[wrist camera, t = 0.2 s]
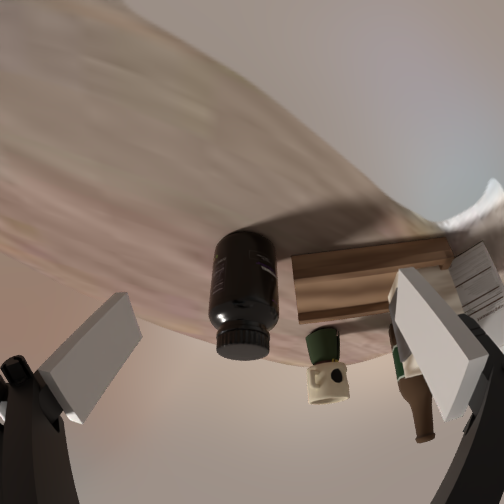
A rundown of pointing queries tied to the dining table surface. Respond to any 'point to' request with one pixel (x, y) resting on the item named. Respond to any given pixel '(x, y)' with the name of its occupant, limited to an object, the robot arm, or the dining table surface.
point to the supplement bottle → (244, 295)
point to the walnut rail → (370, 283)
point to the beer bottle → (414, 395)
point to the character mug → (326, 369)
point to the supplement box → (480, 291)
